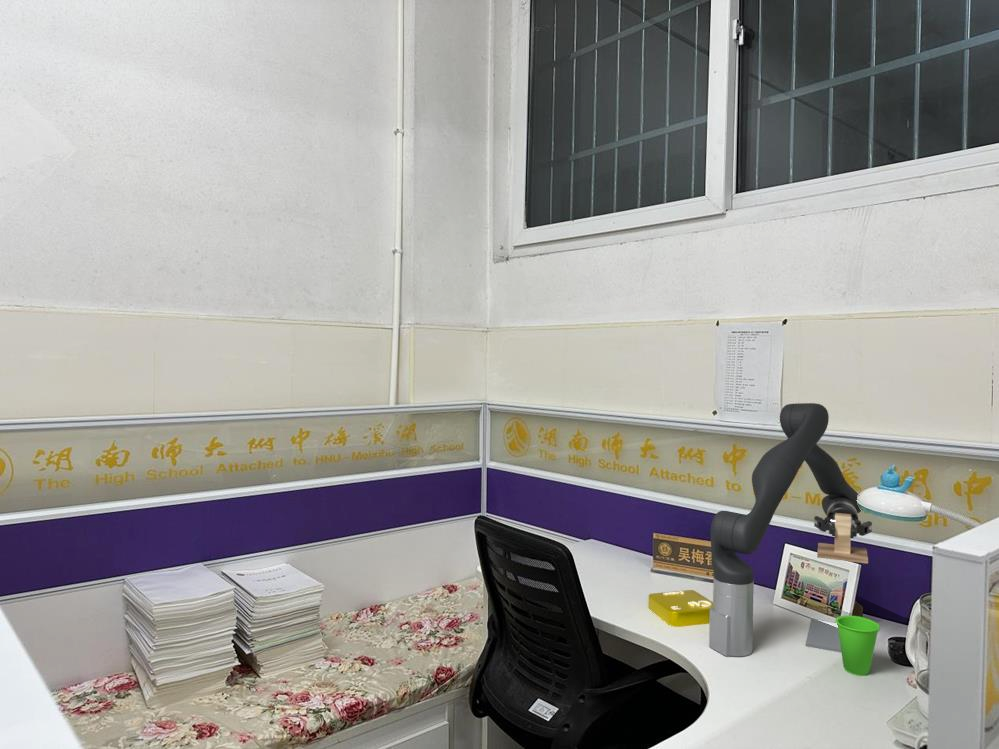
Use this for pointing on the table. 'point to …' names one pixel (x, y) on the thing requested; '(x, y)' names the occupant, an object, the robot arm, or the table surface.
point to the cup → (857, 643)
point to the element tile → (681, 607)
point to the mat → (823, 636)
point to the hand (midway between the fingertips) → (842, 533)
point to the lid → (842, 543)
